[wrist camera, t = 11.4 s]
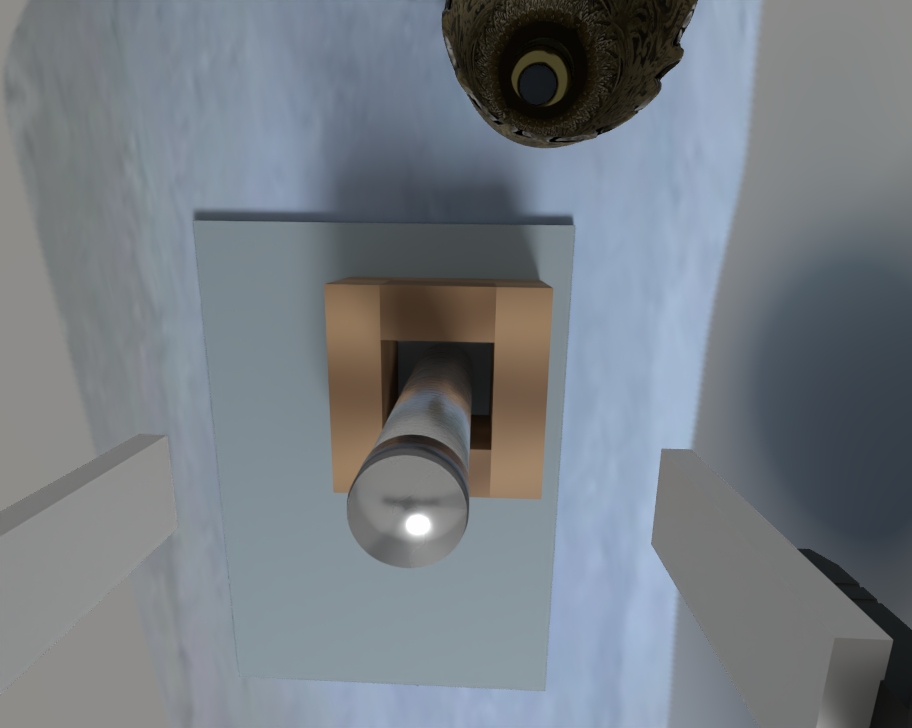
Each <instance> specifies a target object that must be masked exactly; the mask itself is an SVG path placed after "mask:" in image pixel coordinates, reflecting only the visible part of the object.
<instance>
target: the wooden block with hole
mask: <svg viewBox="0 0 912 728" xmlns="http://www.w3.org/2000/svg"><path fill="white" fill-rule="evenodd" d="M324 294H325V316H326V338H327V361H328V383H329V405H330V427H331V449H332V471H333V493H349V490H350V487H351V485H352V483H353V481H354V479H355V477H356V476H357V474H358V472H359V470H360V468H361V466H362V464H363V462H364V460H365V459H366V457H367V456H368V454H369V453H370V452H371V451H372V449H373V447H374V445H375V443H376V441H377V439H378V437H379V435H380V433H381V432H382V430H383V428H384V426H385V424H386V422H387V420H388V418H389V416H390V414H391V412H392V410H393V408H394V406H395V404H396V402H397V400H398V399H399V394H398V340H400V341H446V342H491V375H490V408H489V415H471V426H470V450H469V473H468V477H469V484H470V497H481V498H511V499H541V496H542V478H543V461H544V443H545V426H546V408H547V391H548V373H549V356H550V338H551V321H552V303H553V288H552V287H551V286H549V285H548V284H546V283H544V282H543V281H541V280H524V279H465V278H406V277H348V278H344V279H341V280H337V281H334V282H330V283H326V284H324Z"/></svg>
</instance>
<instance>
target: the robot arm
mask: <svg viewBox="0 0 912 728" xmlns="http://www.w3.org/2000/svg"><path fill="white" fill-rule="evenodd" d="M177 528H178V524H177V515H176V507H175V498H174V490H173V481H172V473H171V464H170V456H169V447H168V439H167V435H146V434H139V435H137V436H135V437H133V438H132V439H130V440H128V441H126V442H124V443H123V444H121V445H119V446H117V447H115V448H114V449H112V450H110V451H108V452H107V453H105V454H103V455H101V456H99V457H98V458H96V459H94V460H92V461H90V462H89V463H87V464H85V465H83V466H81V467H80V468H78V469H76V470H74V471H73V472H71V473H69V474H67V475H65V476H63V477H62V478H60V479H58V480H56V481H54V482H53V483H51V484H49V485H48V486H46V487H44V488H42V489H40V490H38V491H36V492H35V493H33V494H31V495H29V496H28V497H26V498H24V499H22V500H20V501H18V502H17V503H15V504H13V505H11V506H10V507H8V508H6V509H4V510H3V511H1V512H0V695H1V694H2V693H3V692H4V691H5V690H6V689H7V688H8V687H9V686H11V685H12V683H14V682H15V681H16V680H17V679H18V678H19V677H20V676H21V675H22V674H23V673H24V672H25V671H26V670H27V669H29V668H30V667H31V666H32V665H33V664H34V663H35V662H36V661H37V660H38V659H39V658H40V657H41V656H42V655H43V654H44V653H46V652H47V651H48V650H49V649H50V648H51V647H52V646H53V645H54V644H55V643H56V642H57V641H58V640H59V639H60V638H61V637H62V636H64V635H65V634H66V633H67V632H68V631H69V630H70V629H71V628H72V627H73V626H74V625H75V624H76V623H77V622H78V621H80V619H82V618H83V617H84V616H85V615H86V614H87V613H88V612H89V611H90V610H91V609H92V608H93V607H94V606H95V605H96V604H97V603H99V602H100V601H101V600H102V599H103V598H104V597H105V596H106V595H107V594H108V593H109V592H110V591H111V590H112V589H114V588H115V587H116V586H117V585H118V584H119V583H120V582H121V581H122V580H123V579H124V578H125V577H126V576H127V575H128V574H129V573H130V572H132V571H133V570H134V569H135V568H136V567H137V566H138V565H139V564H140V563H141V562H142V561H143V560H144V559H145V558H146V557H147V556H149V555H150V554H151V553H152V552H153V551H154V550H155V549H156V548H157V547H158V546H159V545H160V544H161V543H162V542H163V541H164V540H166V539H167V538H168V537H169V536H170V535H171V534H172V533H173V532H174V531H175V530H176V529H177ZM651 544H652V546H653V548H654V549H655V551H656V553H657V555H658V556H659V558H660V560H661V561H662V563H663V565H664V566H665V568H666V570H667V572H668V573H669V575H670V577H671V578H672V580H673V582H674V583H675V585H676V587H677V589H678V590H679V592H680V594H681V595H682V597H683V599H684V600H685V602H686V604H687V606H688V607H689V609H690V610H691V612H692V614H693V616H694V617H695V619H696V621H697V623H698V624H699V626H700V628H701V629H702V631H703V633H704V634H705V636H706V638H707V640H708V641H709V643H710V645H711V646H712V648H713V650H714V651H715V653H716V655H717V657H718V658H719V660H720V662H721V663H722V665H723V667H724V669H725V670H726V672H727V674H728V675H729V677H730V679H731V680H732V682H733V683H734V685H735V687H736V689H737V691H738V692H739V694H740V696H741V697H742V699H743V701H744V703H745V704H746V706H747V708H748V709H749V711H750V713H751V714H752V716H753V718H754V720H755V721H756V723H757V725H758V726H759V728H912V630H911V629H910V628H909V627H908V626H907V625H906V624H904V623H903V622H902V621H901V620H900V619H899V618H898V617H896V616H895V615H894V614H893V613H892V612H891V611H890V610H888V609H887V608H886V607H885V606H884V605H883V604H881V603H878V602H877V599H876V598H875V597H874V596H873V595H871V594H870V593H869V592H868V591H867V590H866V589H865V588H864V587H860V586H859V583H858V582H857V581H856V580H854V579H853V578H852V577H851V576H850V575H849V574H848V573H846V572H845V571H844V570H843V569H842V568H841V567H840V566H839V565H837V564H835V563H833V562H832V561H830V560H828V559H826V558H825V557H823V556H821V555H819V554H817V553H816V552H814V551H812V550H810V549H796V548H795V547H794V546H793V545H792V544H791V543H790V542H789V541H788V540H787V539H786V538H785V537H784V536H783V535H782V534H781V533H779V532H778V531H777V530H776V529H775V528H774V527H773V526H772V525H771V524H770V523H769V522H768V521H767V520H766V519H765V518H764V517H762V516H761V515H760V514H759V513H758V512H757V511H756V510H755V509H754V508H753V507H752V506H751V505H750V504H749V503H747V501H746V500H744V499H743V498H742V497H741V496H740V495H739V494H738V493H737V492H736V491H735V490H734V489H733V488H731V486H730V485H729V484H727V483H726V482H725V481H724V480H723V479H722V478H721V477H720V476H719V475H718V474H717V473H716V472H715V471H714V470H713V469H712V468H710V467H709V466H708V465H707V464H706V463H705V462H704V461H703V460H702V459H701V458H700V457H699V456H698V455H697V454H696V453H695V452H694V451H693V450H687V449H662V451H661V460H660V469H659V478H658V487H657V496H656V505H655V514H654V523H653V533H652V542H651Z"/></svg>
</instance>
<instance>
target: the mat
mask: <svg viewBox="0 0 912 728" xmlns="http://www.w3.org/2000/svg"><path fill="white" fill-rule="evenodd" d="M193 226H194V236H195V246H196V256H197V266H198V276H199V286H200V296H201V306H202V316H203V325H204V335H205V345H206V355H207V365H208V375H209V385H210V395H211V405H212V415H213V425H214V434H215V444H216V454H217V464H218V474H219V484H220V494H221V504H222V514H223V524H224V533H225V543H226V553H227V563H228V573H229V583H230V593H231V603H232V613H233V623H234V633H235V642H236V652H237V662H238V672H239V677H256V678H277V679H298V680H319V681H340V682H361V683H382V684H404V685H425V686H446V687H467V688H488V689H509V690H530V691H545V685H546V670H547V655H548V639H549V624H550V609H551V593H552V578H553V563H554V547H555V532H556V517H557V501H558V486H559V471H560V455H561V440H562V425H563V409H564V394H565V379H566V363H567V348H568V333H569V317H570V302H571V287H572V271H573V256H574V241H575V226H576V225H499V224H421V223H343V222H265V221H193ZM348 277H406V278H465V279H524V280H541V281H543V282H544V283H546V284H548V285H549V286H551V287H552V288H553V303H552V321H551V338H550V356H549V373H548V391H547V408H546V426H545V443H544V461H543V478H542V496H541V499H511V498H481V497H469V518H468V523H467V527H466V530H465V532H464V534H463V536H462V538H461V540H460V541H459V543H458V545H457V546H456V547H455V548H454V550H453V551H452V552H451V553H450V554H448V555H447V556H446V557H444V558H443V559H441V560H440V561H438V562H436V563H433V564H431V565H428V566H424V567H418V568H400V567H395V566H391V565H388V564H385V563H383V562H380V561H378V560H377V559H375V558H373V557H372V556H370V555H369V554H368V553H367V552H365V551H364V550H363V549H362V548H361V547H360V545H359V544H358V543H357V541H356V540H355V538H354V536H353V535H352V533H351V530H350V528H349V524H348V520H347V498H348V493H333V471H332V449H331V427H330V405H329V383H328V361H327V338H326V316H325V294H324V284H326V283H330V282H334V281H337V280H341V279H344V278H348ZM438 343H450V344H454V345H456V346H458V347H460V348H461V349H463V350H464V351H465V352H466V353H467V355H468V356H469V358H470V360H471V363H472V367H473V378H472V402H471V415H489V408H490V375H491V342H446V341H400V340H398V394H399V397H400V395H401V393H402V391H403V389H404V387H405V385H406V383H407V381H408V379H409V377H410V375H411V373H412V371H413V369H414V367H415V365H416V364H417V362H418V360H419V358H420V356H421V354H422V353H423V352H424V351H425V350H426V349H427V348H429V347H430V346H432V345H435V344H438Z"/></svg>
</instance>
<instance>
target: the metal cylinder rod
mask: <svg viewBox="0 0 912 728" xmlns="http://www.w3.org/2000/svg"><path fill="white" fill-rule="evenodd" d="M472 378H473V367H472V363H471V360H470V358H469V356H468V355H467V353H466V352H465V351H464V350H463V349H461V348H460V347H458V346H456V345H454V344H450V343H438V344H435V345H432V346H430V347H429V348H427V349H426V350H425V351H424V352H423V353H422V354H421V356H420V358H419V360H418V362H417V364H416V365H415V367H414V369H413V371H412V373H411V375H410V377H409V379H408V381H407V383H406V385H405V387H404V389H403V391H402V393H401V395H400V397H399V399H398V400H397V402H396V404H395V406H394V408H393V410H392V412H391V414H390V416H389V418H388V420H387V422H386V424H385V426H384V428H383V430H382V432H381V433H380V435H379V437H378V439H377V441H376V443H375V445H374V447H373V449H372V451H371V452H370V453H369V454H368V456H367V457H366V459H365V460H364V462H363V464H362V466H361V468H360V470H359V472H358V474H357V476H356V477H355V479H354V481H353V483H352V485H351V487H350V490H349V493H348V498H347V520H348V524H349V528H350V530H351V533H352V535H353V536H354V538H355V540H356V541H357V543H358V544H359V545H360V547H361V548H362V549H363V550H364V551H365V552H367V553H368V554H369V555H370V556H372V557H373V558H375V559H377V560H378V561H380V562H383V563H385V564H388V565H391V566H395V567H400V568H418V567H424V566H428V565H431V564H433V563H436V562H438V561H440V560H441V559H443V558H444V557H446V556H447V555H448V554H450V553H451V552H452V551H453V550H454V548H455V547H456V546H457V545H458V543H459V541H460V540H461V538H462V536H463V534H464V532H465V530H466V527H467V523H468V518H469V497H470V484H469V477H468V473H469V450H470V426H471V402H472Z"/></svg>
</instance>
